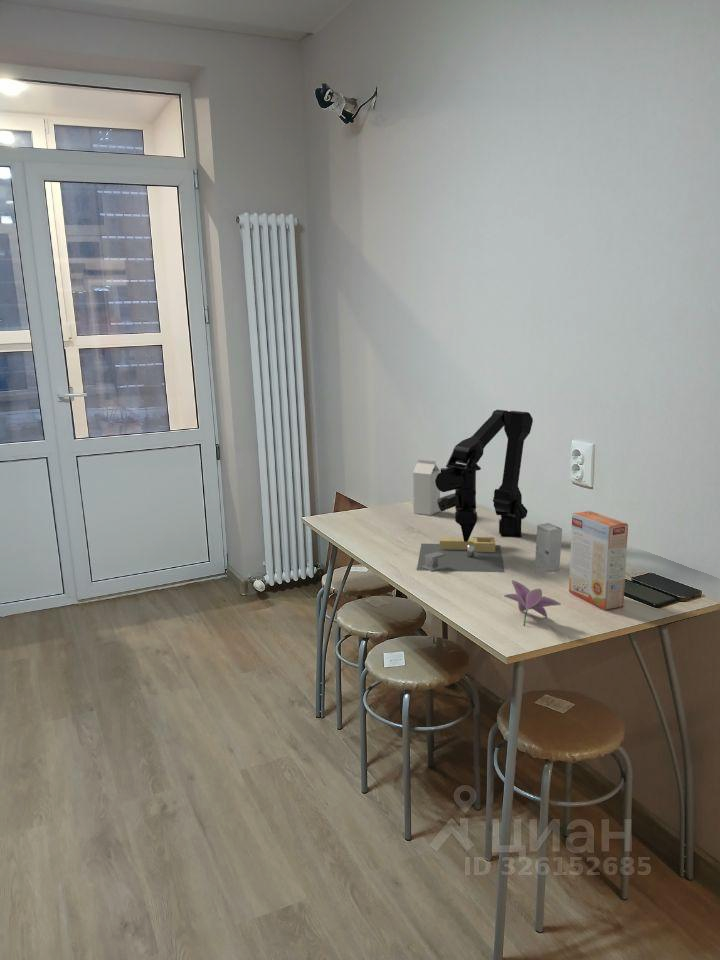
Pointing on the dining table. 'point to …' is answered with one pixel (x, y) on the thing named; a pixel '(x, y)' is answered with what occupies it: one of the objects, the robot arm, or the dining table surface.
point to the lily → (530, 599)
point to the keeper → (432, 561)
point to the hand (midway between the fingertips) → (465, 537)
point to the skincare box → (548, 547)
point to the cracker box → (598, 559)
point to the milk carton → (425, 488)
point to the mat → (463, 559)
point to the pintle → (470, 551)
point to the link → (479, 543)
